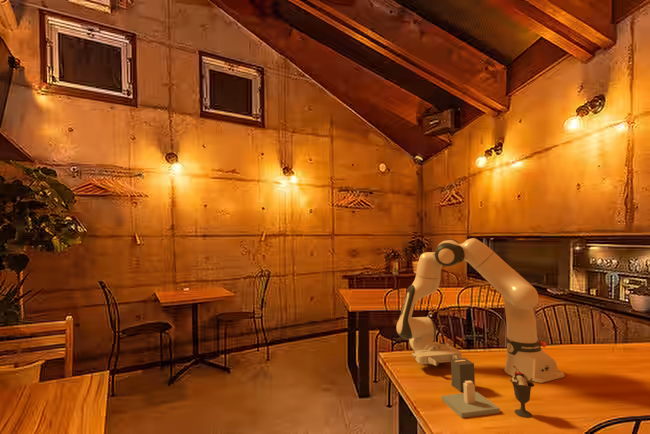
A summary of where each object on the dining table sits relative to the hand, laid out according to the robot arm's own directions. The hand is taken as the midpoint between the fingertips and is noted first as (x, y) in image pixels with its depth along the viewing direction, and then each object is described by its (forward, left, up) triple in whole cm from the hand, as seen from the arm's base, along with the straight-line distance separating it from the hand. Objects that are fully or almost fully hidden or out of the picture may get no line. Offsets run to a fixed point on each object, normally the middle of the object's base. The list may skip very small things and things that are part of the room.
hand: (447, 362), depth 140 cm
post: (+6, +24, -6) cm, 25 cm away
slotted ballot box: (0, +11, -6) cm, 12 cm away
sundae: (-8, +32, -6) cm, 33 cm away
